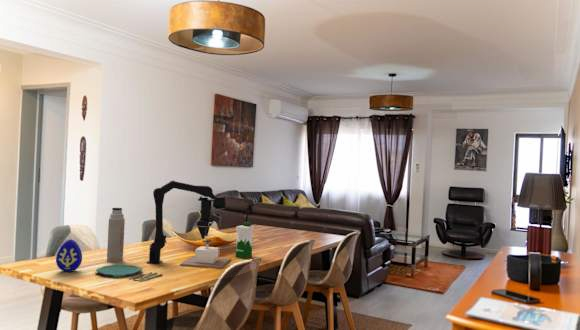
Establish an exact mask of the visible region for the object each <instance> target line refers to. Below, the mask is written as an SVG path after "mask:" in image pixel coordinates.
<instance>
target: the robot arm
mask: <svg viewBox="0 0 580 330" xmlns="http://www.w3.org/2000/svg"><path fill="white" fill-rule="evenodd" d="M173 189H177V190H182V191H187V192H190V193H195V194H198V195H200V196H199V197H198V198H197V201H199V202H200V210H199V214H200V217H199V220H198V221H197V222H196V227H197V229H198V231H199V234H200V236H201V239H202V240H204V239H206V237H208V235H209V231H210V227H211V226H212V225H213V224H214V222H215V223H217V224H219V223H220V222H221V220H222V216H221V213H218V212H217V213H216V214H215V213H213V210H212V208H214V210H225V209H226V197H225V196H215V195H214V193H213V192H214V191H213V189H212V187H210V186H208V185H194V184H190V183H185V182H179V181H175V180H170V181H169V182H167V183H166V184H164V185H162V186H161V187H156V188H154V189H153V191H152V194H153V200H154V204H155V232H154V238H153V242H151V244H150V245H149V253H148V254H149V255H148V256H149V257H148V261H146V264H160V263H162V262H163V260H162V259H161V253H162V252H161V251H162V249H163V248H164V247H165V246H166V244H167V239H166V238H167V233H164V231H163V229H164V228H163V226H164V224H163V223H164V222H163V220H164V219H163V218H164V215H163V214H164V213H163V209H164V208H163V206H164V205H163V204H164V200H165V199H164V198H165V195H166V194H167V193H169V192H170V191H172V190H173ZM208 198H210V199H208Z"/></svg>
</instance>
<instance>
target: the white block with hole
mask: <svg viewBox="0 0 580 330" xmlns="http://www.w3.org/2000/svg"><path fill="white" fill-rule="evenodd" d="M194 251H195V252H194V253H195V254H194V256H195V262H199V263H214V262H216V261H217V260H218V257H219V247H218V246H217V247H214V246H208V249H206V246H204V245H203V246H202V245H201V246H199V247H197V248H196V249H195V250H194Z"/></svg>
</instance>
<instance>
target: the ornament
mask: <svg viewBox="0 0 580 330" xmlns="http://www.w3.org/2000/svg"><path fill="white" fill-rule="evenodd" d="M82 260H83V253H82V250H81V248H80V245H79V244H78V243H77V241H76V240H73V239H68V240H66V241H64V242H63V243H62V245H61V246H60V247H59V249H58V251H57V253H56V256H55V264H56V266H57V267H58V269H59V270H60V271H62V272H67V273H70V272H74V271H75V270H77V269H78V268H79V267H80V266H81V264H82Z"/></svg>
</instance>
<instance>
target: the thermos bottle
mask: <svg viewBox="0 0 580 330" xmlns="http://www.w3.org/2000/svg"><path fill="white" fill-rule="evenodd" d="M111 210H112V211H111V213H110V215H109V218H108V225H107V227H108V228H107V249H106V261H107V262H109V263H120V262H123V261H124V244H125V243H124V241H125V240H124V239H125V221H126V220H125V217H124V213H123V208H122V207H112V208H111Z"/></svg>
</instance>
